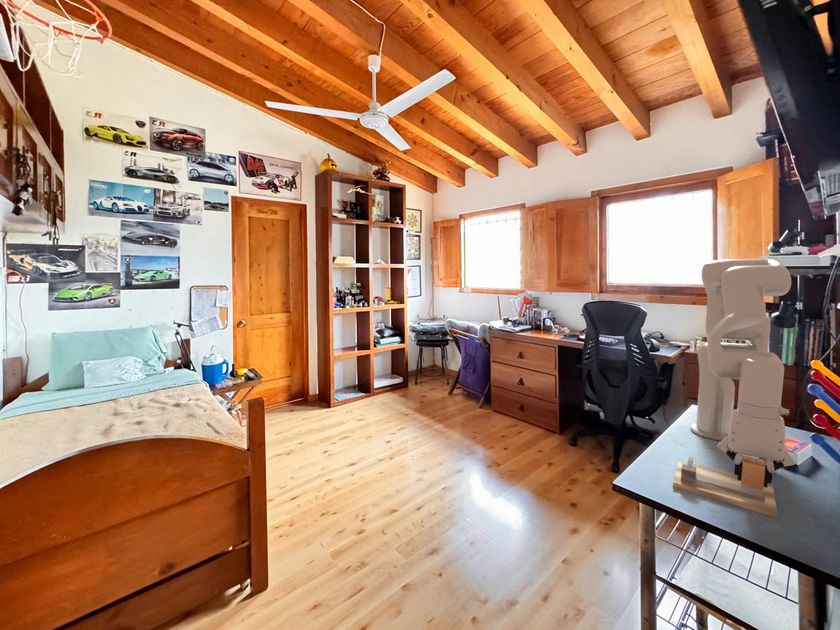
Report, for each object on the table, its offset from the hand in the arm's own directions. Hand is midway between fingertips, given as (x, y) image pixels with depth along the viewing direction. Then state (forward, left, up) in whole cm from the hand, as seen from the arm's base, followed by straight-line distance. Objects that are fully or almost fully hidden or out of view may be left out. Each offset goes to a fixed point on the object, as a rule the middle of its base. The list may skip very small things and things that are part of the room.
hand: (751, 480), depth 91 cm
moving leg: (-2, 0, -4) cm, 5 cm away
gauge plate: (-3, -5, -6) cm, 9 cm away
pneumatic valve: (-21, +5, -6) cm, 23 cm away
